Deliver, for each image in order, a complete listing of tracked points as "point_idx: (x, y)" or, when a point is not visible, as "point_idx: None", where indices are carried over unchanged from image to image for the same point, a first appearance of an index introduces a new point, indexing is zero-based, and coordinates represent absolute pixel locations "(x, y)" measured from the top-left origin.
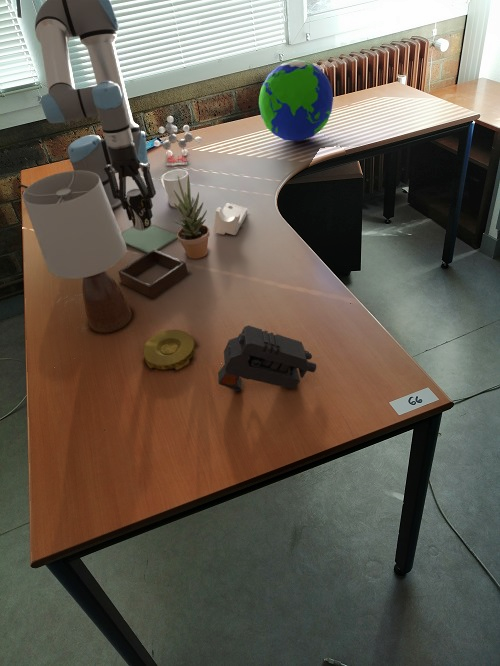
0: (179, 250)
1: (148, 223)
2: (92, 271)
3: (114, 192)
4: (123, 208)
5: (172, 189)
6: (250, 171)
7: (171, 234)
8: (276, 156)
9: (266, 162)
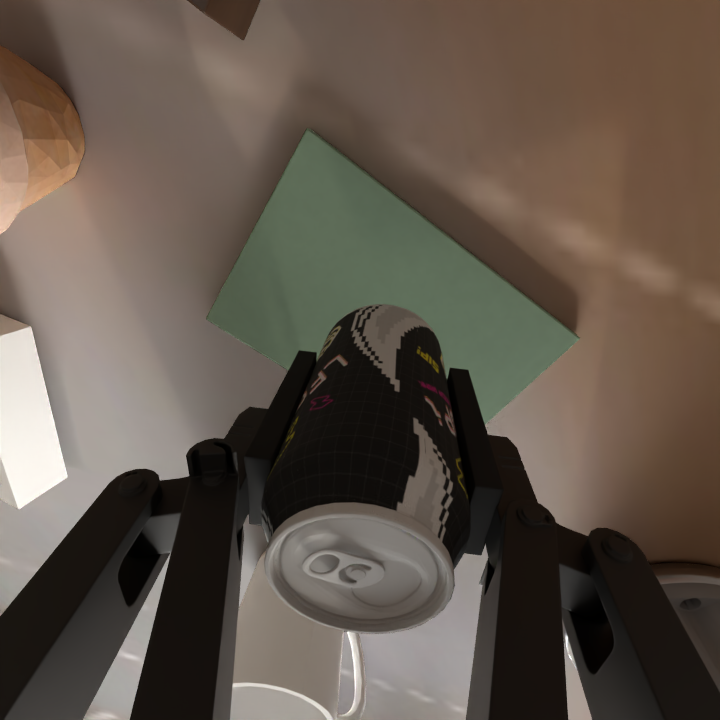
0: (149, 171)
1: (324, 343)
2: None
3: (638, 612)
4: (510, 445)
5: (285, 628)
6: (130, 675)
7: (247, 333)
8: (92, 716)
9: (105, 700)
